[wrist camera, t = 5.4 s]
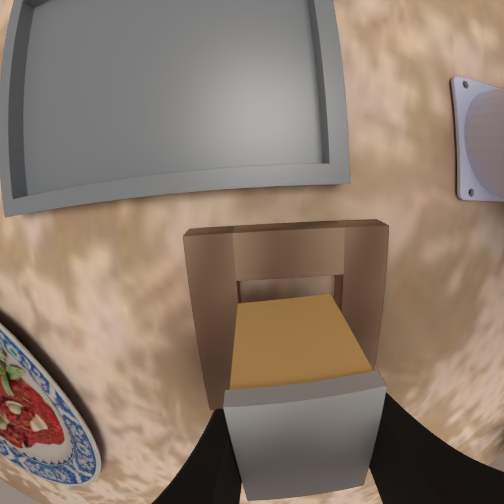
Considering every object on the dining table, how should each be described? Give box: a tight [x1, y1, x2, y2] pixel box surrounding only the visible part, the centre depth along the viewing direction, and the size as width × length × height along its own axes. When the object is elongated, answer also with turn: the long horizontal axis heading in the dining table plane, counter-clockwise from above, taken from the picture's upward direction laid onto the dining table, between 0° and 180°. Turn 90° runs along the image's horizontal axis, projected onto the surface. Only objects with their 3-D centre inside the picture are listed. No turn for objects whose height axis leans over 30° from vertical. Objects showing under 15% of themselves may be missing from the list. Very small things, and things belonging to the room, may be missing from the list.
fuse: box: [223, 293, 387, 501], centre depth 11 cm, size 4×5×6 cm
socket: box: [183, 219, 389, 410], centre depth 18 cm, size 11×12×2 cm
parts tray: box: [0, 0, 350, 217], centre depth 13 cm, size 20×16×2 cm
